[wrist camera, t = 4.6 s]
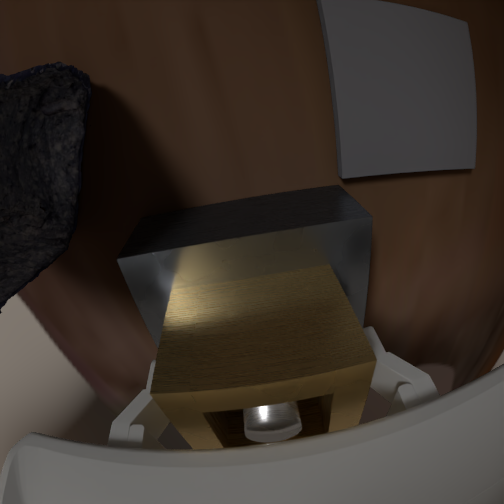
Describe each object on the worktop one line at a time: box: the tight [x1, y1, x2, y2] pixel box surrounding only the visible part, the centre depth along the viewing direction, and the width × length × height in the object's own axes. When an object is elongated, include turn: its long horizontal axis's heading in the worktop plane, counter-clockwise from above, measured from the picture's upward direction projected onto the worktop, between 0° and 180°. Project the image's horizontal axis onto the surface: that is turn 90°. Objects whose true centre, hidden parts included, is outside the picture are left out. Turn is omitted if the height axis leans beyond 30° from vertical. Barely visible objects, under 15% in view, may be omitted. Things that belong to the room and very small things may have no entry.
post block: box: [117, 185, 372, 442], centre depth 13 cm, size 10×10×9 cm
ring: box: [150, 264, 377, 449], centre depth 11 cm, size 6×6×5 cm
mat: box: [316, 0, 477, 179], centre depth 11 cm, size 9×9×1 cm
